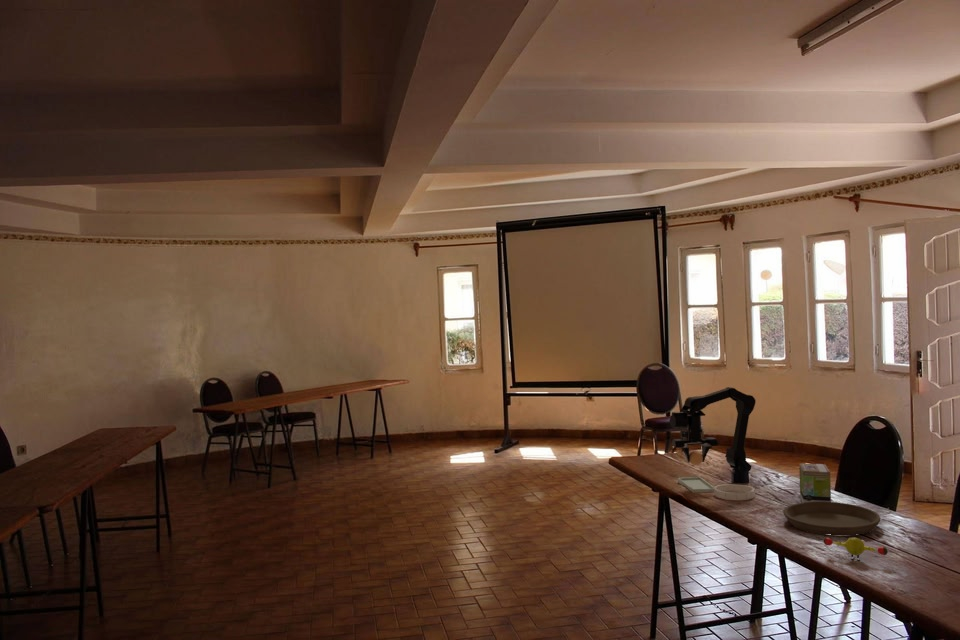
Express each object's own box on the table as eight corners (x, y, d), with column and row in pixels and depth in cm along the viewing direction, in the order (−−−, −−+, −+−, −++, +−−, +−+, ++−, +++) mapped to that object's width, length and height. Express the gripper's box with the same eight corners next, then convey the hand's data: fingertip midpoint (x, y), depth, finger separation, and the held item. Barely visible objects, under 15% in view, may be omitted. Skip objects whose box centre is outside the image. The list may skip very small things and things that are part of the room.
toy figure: (890, 562, 218) (889, 540, 218) (886, 568, 214) (885, 545, 214) (827, 551, 230) (826, 530, 230) (821, 556, 226) (820, 534, 226)
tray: (700, 481, 328) (699, 476, 328) (716, 493, 306) (716, 488, 306) (678, 482, 328) (677, 477, 328) (693, 494, 306) (692, 489, 306)
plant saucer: (826, 544, 238) (825, 530, 238) (765, 519, 268) (764, 506, 268) (902, 532, 246) (901, 519, 246) (835, 509, 276) (834, 497, 276)
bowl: (746, 491, 307) (745, 483, 307) (760, 501, 291) (760, 492, 291) (709, 493, 307) (709, 484, 307) (722, 502, 291) (721, 494, 291)
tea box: (832, 510, 275) (830, 471, 274) (803, 509, 278) (801, 470, 278) (827, 500, 289) (825, 463, 289) (799, 499, 292) (798, 462, 292)
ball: (700, 463, 320) (700, 449, 320) (705, 466, 314) (704, 452, 314) (687, 463, 320) (686, 450, 320) (691, 466, 314) (690, 452, 314)
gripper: (709, 422, 325) (710, 457, 325) (667, 424, 324) (669, 459, 325) (717, 426, 314) (719, 462, 314) (675, 428, 313) (676, 464, 313)
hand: (695, 462), depth 317 cm, fingers closed on ball, 6 cm apart
